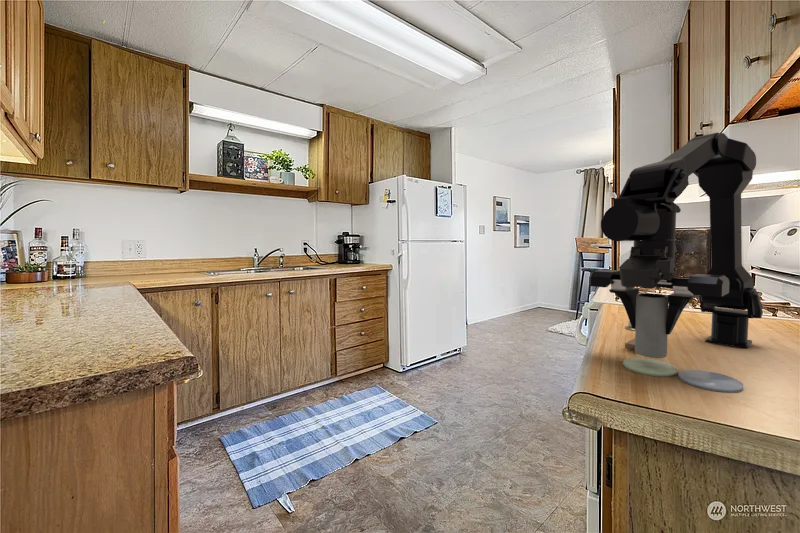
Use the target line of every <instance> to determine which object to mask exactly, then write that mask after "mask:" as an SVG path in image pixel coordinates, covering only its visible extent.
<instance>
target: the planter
mask: <svg viewBox="0 0 800 533" xmlns="http://www.w3.org/2000/svg"><path fill="white" fill-rule="evenodd" d="M668 308H669V300H668V295H667V294H663V293H653V292H651V293H649V292H648V293H645V292H643V293H642V292H641V293H640V292H639V294H637V295H636V324H635V331H634V332H635V333H634V339H635V350H634V353H635V354H636V355H639V356H642V357H645V358H649V359H650V358H651V359H652V358H653V359H664V358H666V357H667V355H668V354H667V353H668V336H669V335H667V334H666V321H667V314H668Z"/></svg>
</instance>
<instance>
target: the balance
mask: <svg viewBox="0 0 800 533" xmlns="http://www.w3.org/2000/svg"><path fill="white" fill-rule="evenodd" d="M627 322H628V325H625V326H624V330H626V331H630V332H635V329H633V328H632V326H631V323H630V320H629V321H627ZM628 348H629V350H633V351H635V338H633V339H630V340H629V341H626V342H624V349H628Z"/></svg>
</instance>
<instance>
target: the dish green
mask: <svg viewBox="0 0 800 533" xmlns="http://www.w3.org/2000/svg"><path fill="white" fill-rule="evenodd" d="M623 367H624V368H626V370H629V371H631V372H634V373H636V374H641V375H645V376H651V377H658V378H660V377H662V378H668V377H675V376H676V375H677V374H678V368H677V367H676V366H675V365H673V364H670V363H668V362H664V361H661V360H657V359H652V358H651V359H650V358H646V357H645V358H643V357H631V358H626V359H624V360H623Z"/></svg>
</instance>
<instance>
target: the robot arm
mask: <svg viewBox="0 0 800 533" xmlns="http://www.w3.org/2000/svg"><path fill="white" fill-rule="evenodd" d="M756 167H757V155H756V153H755V151H754V150H753V149H752V148H751V146H749V144H748V143H746V142H744V141H739V140H736V139H732V138H729V137H728V136H727V135H726V134H725V133H724V132H721V133H720V132H719V131H718V132H713V133H710V134H709V133H708V134H703V135H699V136H695V137H692V138H691V139H688V141H686V144H684V145H683V146H681V147H679V148H678V149H677V150H675V151H674V152H672V153H671V154H669V155H668V156H666V157H665V158H664V159H662V160H661V161H657V162H653V163H649V164H645V165H642V166H639V167H636V168H633V170H632V171H631V172H630V173H629V176H628V177H627V179H626V182H625V183H624V185H623V188H622V190H621V192H620V194H619V196H618V197H615V198H614V199H613V205H612V206H611V207H610V208H608V209H607V210H606V211H605V212H604V214H603V217H602V219H601V220H600V229H601V232H602V233H603V235H604V236H605V237H606V238H607V239H609V240H611V241H614V242H633V246H631V247H630V248H631V249H630V252H629V253H630V255H629V257H628V258H627V259H625V260H624V261H623V263H622V264H621V265H620V266H619V268H618V269H619V270H618V269H616V270H615V269H599V270H593V271H592V272H591V273H590V275H589V276H588V286H589V287H593V288H594V287H595V288H596V287H597V288H608V287H609V286H610V289H608V290H609V293H611V294H615V295H616V296H617V297H618V298H619V300H620V302H621V303H622V305H623V308H624V310H625V312H626V314H627V317H628V320H629V321H630V323H631V326H632V328H633V329H635V324H636V295H637V294H640V290H639V288H643V289H649V290H650V289H654V288H664V289H672V291H673V293H670V294H668V295H667V296H668V300H669V306H668V314H667V321H666V334H667V335H668V336H669V335H671V333H672V332H673V330H674V328H675V326H676V324H677V322H678V320H679V318H680V317H681V315H682V313H683V311H684V309H685V308H686V307H687V304H688V303H689V302H690V301H691V300H695V299H698V298H699V306H700V312H701V313H710V314H711V313H712V314H711V333H710V334H711V335H710V336H709V337H707V338H705V342H706V343H711V344H719V345H725V346H731V347H738V348H743V349H748V348H749V347H750V345H752V344H753V340H751V339H748V337H749V320H750V319H762V318H763V311H764V310H763V308H764V306H763V303H762V301H761V298H760V296H759V293H758V291H757V289H756V288H755V287H754V286H755V285H754V278H753V277H752V275H751V274H750V273H749V272H748V271H747V269H746V268H745V267H744V266H743V254H742V253H743V244H742V236H743V234H742V232H743V231H742V193H743V192H744V190H746V188H747V186H748V185H749V184H750V183H751V181H752V180H753V173H754V170H755V169H756ZM692 174H693V175H695V176H696V178H697V181H698V186H699V188H700V189H701V190H702V191H703V193H705V195H706V196H707V197H708V199H709V227H710V228H709V229H710V230H709V233H710V268H709V269H708V271H707V272H706V273H705V274H704V273H702V274H701V273H696V274H692V275H689V277H676V273H677V270H676V269H677V268H676V263H675V257H676V256H675V253H677V245H676V231H677V230H676V229H677V228H676V227H677V226H676V224H677V223H676V222H677V214H678V213H681V212H682V211H681V208H680V206H679V205H677V204H676V203H675V200H677V198H679V196H681V195H682V194H683V193H684V191H685V190H686V188H688V186H689V185H690V182H689V176H691V175H692Z"/></svg>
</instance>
